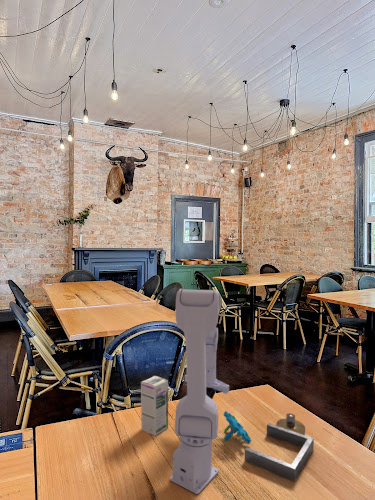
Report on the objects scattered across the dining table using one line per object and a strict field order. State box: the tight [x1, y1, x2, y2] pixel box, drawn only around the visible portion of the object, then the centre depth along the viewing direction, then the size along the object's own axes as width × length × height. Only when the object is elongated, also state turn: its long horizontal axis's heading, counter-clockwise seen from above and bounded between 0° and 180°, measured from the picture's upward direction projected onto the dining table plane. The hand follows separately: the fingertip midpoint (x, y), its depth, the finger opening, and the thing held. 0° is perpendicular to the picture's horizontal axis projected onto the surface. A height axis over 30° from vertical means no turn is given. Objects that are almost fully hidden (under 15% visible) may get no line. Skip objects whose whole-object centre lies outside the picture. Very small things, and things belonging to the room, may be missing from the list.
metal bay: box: [244, 422, 315, 483], centre depth 89 cm, size 15×13×3 cm
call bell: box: [275, 412, 306, 435], centre depth 100 cm, size 8×8×5 cm
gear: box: [223, 410, 252, 444], centre depth 96 cm, size 11×6×10 cm
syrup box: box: [140, 375, 169, 437], centre depth 101 cm, size 6×6×14 cm
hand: (206, 410), depth 102 cm, fingers closed
